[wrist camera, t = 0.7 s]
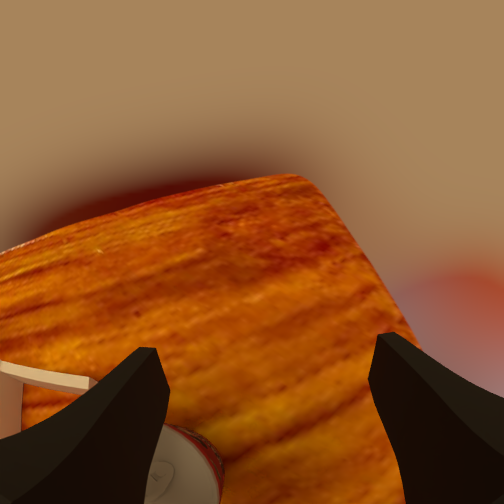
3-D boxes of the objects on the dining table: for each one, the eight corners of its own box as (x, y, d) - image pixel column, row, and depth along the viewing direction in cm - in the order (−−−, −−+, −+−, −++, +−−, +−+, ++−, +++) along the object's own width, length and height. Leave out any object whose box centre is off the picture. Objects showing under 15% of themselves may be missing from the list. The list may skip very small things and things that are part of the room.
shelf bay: (117, 530, 12) (87, 548, 7) (18, 495, 11) (-20, 496, 6) (108, 387, 20) (77, 369, 15) (18, 372, 19) (-19, 350, 14)
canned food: (242, 455, 18) (251, 470, 9) (195, 526, 14) (168, 581, 5) (159, 408, 20) (107, 382, 11) (114, 476, 15) (38, 488, 7)
